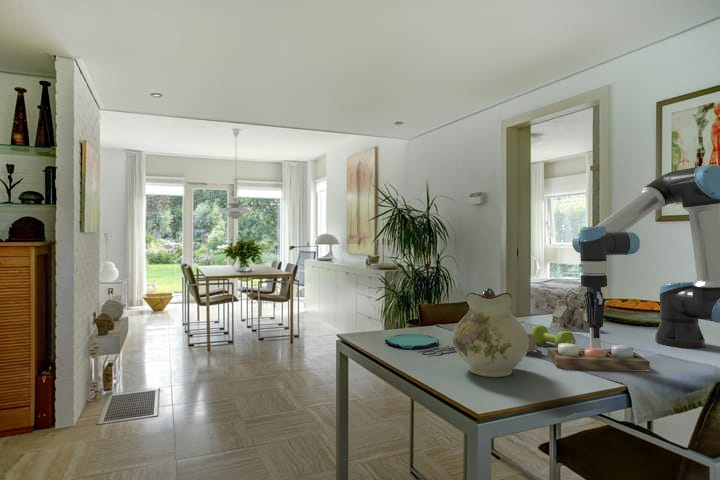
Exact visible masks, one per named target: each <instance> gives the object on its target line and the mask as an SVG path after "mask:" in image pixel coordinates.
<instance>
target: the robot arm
mask: <svg viewBox="0 0 720 480" xmlns="http://www.w3.org/2000/svg"><path fill="white" fill-rule="evenodd" d="M638 192H639V193H638V194H637V195H636V196H635V197H634V198H633V199H631V200H629V201H628V202H627V203H626V204H624V205H623V206H621V207H620V208H618V209H617V210H616V211H614V212H613V213H611V214H610V215H609V216H608V217H606V218H605V219H603V220H602V221H600V222H599V223H598V224H597V225H595V226H582V227H581V228H580V230H579V232H578V233H576V234H575V236H574V237H572V244H571V245H572V248H573V250H574V251H576V252H577V254H578V253H579V255H580V257H579V258H580V263H579V264H578V267H579V268H580V273H581V275H580V285H581V286H582V287H584V288H585V287H586V292H585V293H584V295H583V297H584V300H585V309H586V312H587V323H589V328H590V332H589V348H599V349H602V345H601V344H602V341H601V340H602V338H601V328H603V326H604V315H605V314H604V313H605V304H606V298H604V294H603V292H602V288H606V287H608V276H607V273H608V256H628V255H634V254H636V253H637V252H638V251H639V250H640V246H641V240H640V237H639V236H638V235H637V233H635V232H633V231H628V230H629V229H630V228H632V227H633V226H634V225H636V224H638V222H640V221H642V220H643V219H644V218H645V217H647V216H648V215H650V214H651V213H652V212H653V211H658V210H661V209H663V208H664V207H665V206H669V205H671V204H675V203H681V205H682V209H683V210H686V212H687V213H688V216H689V226H690V233H691V234H690V235H691V242H692V249H693V257H694V264H695V272H696V280H695V281H688V282H667V283H665V282H664V283H662V284H661V285H660V288H659V311H660V312H659V313H660V314H659V315H660V322H659V325H658V327H657V330H656V333H655V340H654V341H655V342H656V343H657V344H660V345H661V344H662V345H666V346H670V347H675V348H676V347H678V348H689V349H690V348H691V349H692V348H693V349H698V348H703V347H705V346H706V342H705V341H706V340H705V337H704V335H703V332H702V329H701V327H700V325H699V320H703V321H709V322H714V323H717V324H720V165H717V164H709V165H707V164H706V165H700V166H694V167H689V168H683V169H678V170H672V171H669V172H667V173H665V174H663V175H661V176H659V177H657V178H656V179H654V180H652V181H651V182H650V183H648V184H646V185H645V186H644V187H643V188H641V189H640V191H638Z"/></svg>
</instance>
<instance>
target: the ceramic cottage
mask: <svg viewBox="0 0 720 480" xmlns="http://www.w3.org/2000/svg"><path fill="white" fill-rule="evenodd" d="M568 295H569V296H568V298H567V300H566V302H565V304H563V302H562V300H561V299H557V301H556V305H555V309H554V311H553V313H552V314H551V317H552V319H551V322H550V324H549V328H550V329H553V330H557V331H568V332H576V333H577V332H578V333H590V328H589V323H587V312H586V308H585V310H584V308H582V307H580V306H579V304H578V301H577V300H576V299H574V297H573V295H572V294H568Z"/></svg>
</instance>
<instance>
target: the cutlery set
mask: <svg viewBox="0 0 720 480" xmlns="http://www.w3.org/2000/svg"><path fill="white" fill-rule="evenodd" d="M384 342H385V343H388V345H389V344H390V345H391V346H395V347H401V348H402V349H405V350H406V349H407V350H411V349H413V348H426V347H427V348H428V347H431V346H434V345H436V344H437V345H439V343H440V340H439V339H438V338H436V337H434V336H431V335H428V334H426V335H425V334H424V333H415V332H414V333H409V332H408V333H403V334H395V335H389V336H387V337H386V338H385V339H384ZM446 350H447V351H446ZM448 350H449V351H448ZM416 353H418V354H419V353H421V354H423V355H426V356H427V357H429V358H432V357H437V356H438V357H439V356H441V355H446V354H452V353H453V354H454V353H457V352H456V350H455V347H454V345H453V346H449V345H445V346H440V347H437V346H435V347H432V348H428V349H421V350H417V352H416Z"/></svg>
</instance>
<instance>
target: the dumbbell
mask: <svg viewBox="0 0 720 480" xmlns="http://www.w3.org/2000/svg"><path fill="white" fill-rule="evenodd" d="M529 334H531V335H533V336H534V338H535V342H536V343H535V345H537V346H540V345H546V343H547V342H548V343H551V344H555V348H558V344H561V343H569V344H575V345H576V339H575V336H574V334H573V333H572V331H564V330H561V331H559V332H558V333H557V334H553V333H549V331H548V329H547V328H546V326H545V325H540V324H538V325H533V326H532V328H531V329H530V332H529Z"/></svg>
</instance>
